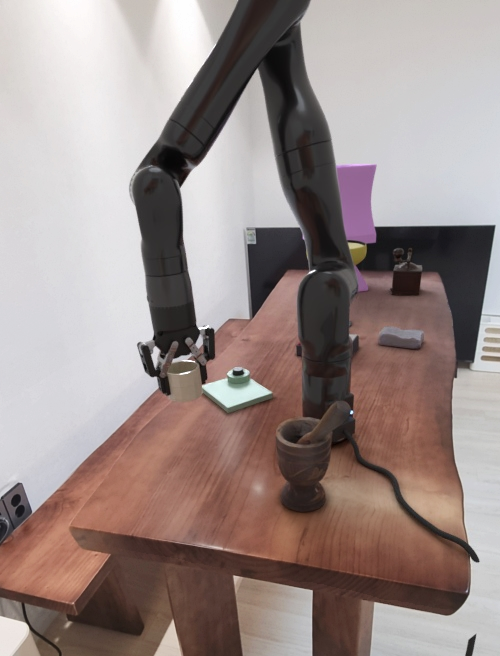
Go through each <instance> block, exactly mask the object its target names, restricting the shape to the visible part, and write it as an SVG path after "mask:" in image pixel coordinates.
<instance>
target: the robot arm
mask: <svg viewBox="0 0 500 656" xmlns="http://www.w3.org/2000/svg"><path fill="white" fill-rule="evenodd" d="M311 1H312V0H237V2H236V4H235V7H234V9H233V11H232V13H231V15H230V17H229V19H228V21H227V22H226V24H225V26H224V28H223V30H222V32H221V33H220V36H219V38H218V39H217V41H216V43H215V45H213V48H212V49H211V51H210V53H209V54H208V56H207V57H206V59H205V60H204V62H203V64H201V66H200V68H199V70H198V71H197V73H196V74H195V76H194V77H193V79H192V80H191V82H190V83H189V85H188V86H187V88H186V90H185V91H184V93H183V94H182V96H181V98H180V99H179V101H178V102H177V104H176V106H175V107H174V109H173V111H172V112H171V114H170V116H169V117H168V119H167V120H166V122H165V124H164V125H163V128H162V129H161V130H162V131H161V133H160V134H159V137H158V138H157V139H156V141H155V142H154V144H153V145H152V146H151V147H150V149H149V150H148V152H147V153H146V155H145V156H144V157H143V159H142V160H141V162H140V163H139V164H138V166H137V167H136V169H135V171H134V172H133V174H132V176H131V178H130V180H129V184H128V194H129V198H130V200H131V202H132V204H133V205H134V207H135V211H136V217H137V223H138V228H139V232H140V238H141V239H140V254H141V261H142V266H143V272H144V278H145V293H146V301H147V303H148V308H149V314H150V315H149V316H150V319H151V327H152V331H153V336H152V339H150V340H148V341H145V342H143V341H138V342H137V344H136V347H137V351H138V354H139V357H140V360H141V364H142V368H143V370H144V373H146V374H147V375H148V376H149V377H150V378H156V380H157V387H158V390H159V391H160V393H162V394H163V395H165V396H166V397H168V396H169V395H171V393H170V387H169V381H168V377H167V376H166V375H167V372H168V369H169V366H171V364H172V363H173V360H176V359H178V358H181V357H183V356H186V357H187V356H189V355H190V356H191V357H192V358H193V360H194V361H195V362H197V363H199V367H200V374H201V382H202V385H205V384H207V381H208V378H209V376H208V370H207V364H208V362H210V361H214V360H215V359H216V332H215V329H214V328H213V327H211V326H210V325H207V324H204V325H202V326H201V327H198V325H197V315H196V308H195V307H196V306H195V299H194V292H193V285H192V280H191V277H190V273H189V265H188V259H187V251H186V246H185V239H184V213H183V212H184V211H183V210H184V209H183V198H182V191H181V188H182V187H183V186H184V184H185V182H186V181H187V179H188V177H189V176H190V173H191V172H192V171H193V170H194V169H196V168H197V167H198V166H199V165H200V164H202V162H203V161H204V159H205V158H206V157H207V155H208V154H209V152H210V151H211V149H212V147H213V146H214V144H215V143H216V141H217V139H218V138H219V136H220V135H221V133H222V131H223V130H224V128H225V126H226V124H227V123H228V121H229V120H230V118H231V116H232V114H233V113H234V110H235V109H236V106H237V105H238V103H239V101H240V100H241V97H242V95H243V93H244V92H245V90H246V88H247V86H248V85H249V83H250V81H251V80H252V78H253V77H254V74H255V73H256V71H258V75H259V79H260V83H261V87H262V91H263V98H264V105H265V111H266V116H267V118H266V119H267V124H268V130H269V135H270V139H271V144H272V152H273V156H274V161H275V162H274V163H275V167H276V170H277V175H278V180H279V184H280V188H281V190H282V193H283V196H284V198H285V201H286V203H287V205H288V207H289V209H290V211H291V213H292V215H293V217H294V219H295V220H296V222H297V225H298V226H299V228H300V231H301V234H302V238H303V237H304V239H303V240H304V245H305V250H306V249H307V255H308V259H307V261H308V271H309V272H307V274H305V275H304V276H303V278H302V279H301V280H300V282H299V284H298V288H297V290H296V291H297V293H296V321H297V322H296V323H297V336H298V342H300V343H301V346H302V356H301V398H302V399H301V403H302V404H301V405H302V406H301V407H302V408H301V409H302V411H301V412H302V416H301V417H310V418H315V419H319V420H321V419H322V417H323V416H324V414H325V413H326V412H327V410H328V409H329V408H330V406H331V405H332V404H334V403H335V402H337V401H345V402H347V403H348V404H349V406H350V407H351V413H350V415H349V417H348V418H347V419H346V420H345V421H344V422H343V423H342V424H341V425H339V426H338V427H337V428H335V429H334V430H333V431H332V442H331V447H332V446H334V445H336V444H339V443H341V442H344V441H346V440H348V441H349V443H350V444H351V447H352V448H353V453H354V457H355V458H356V460H357V461H358V462H359V463H360V464H361V465H362V466H364V467H366V468H368V469H370V470H372V471H376V472H379V473H381V474H383V475H385V476H386V477H387V479H389V480H390V481H391V483H392V485H393V491H394V495H395V497H396V499H397V501H398V503H399V504H400V506H401V507H402V508H403V509H404V510H405V511H406V512H407V513H408V514H409V515H410V516H411V517H412V518H413V519H414V520H416V521H417V522H418V523H419V524H421V525H422V526H423V527H425V528H426V529H428V530H429V531H430V532H432V533H433V534H435V535H436V536H438V537H440V538H443V539H445V540H447V541H450V542H451V543H455V544H457V545H458V546H460V547H461V548H462V549H463V550H464V551H466V553H467V554H468V556H469V557H470V559H471V560H472V561H473V562H474V563H478V564H479V563H480V562H481V561H480V558H479V556H478V554H477V552H476V551H475V550H474V548H472V546H471V545H470V544H469V543H468V542H467V541H465V540H464V539H462V538H460V537H458V536H456V535H453V534H451V533H449V532H446V531H444V530H442V529H440V528H438V527H437V526H436V525H434V524H432V522H430V521H429V520H427V519H425V518H424V517H423V516H422V515H421V514H419V513H418V512H417V511H416V510H415V509H414V508H413V507H411V506H410V505H409V504H408V502H407V501H406V500H405V498H404V497H403V495H402V492H401V489H400V488H401V487H400V485H399V482H398V479H397V477H396V476H395V475H394V474H393V473H392V472H391V471H390V470H388V469H387V468H384V467H382V466H379V465H376V464H374V463H373V464H372V463H370V462H368V461H367V460H366V459H364V458H363V457H362V456H361V453H360V448H359V446H358V443H357V441H356V440H355V438H354V437H353V435H355V433H356V418H354V403H355V395H354V393H352V392H351V387H352V386H351V385H352V367H353V366H352V363H353V356H352V348H353V342H352V339H351V337H350V336H349V334H350V326H349V321H350V311H351V309H350V308H351V306H352V305H353V304H354V302H355V301H356V299H357V296H358V293H359V292H358V287H359V284H358V278H357V274H356V270H355V266H354V263H353V259H352V256H351V252H350V249H349V245H348V241H347V237H346V233H345V228H344V222H343V213H342V204H341V196H340V190H339V183H338V176H337V168H336V165H337V161H336V156H335V155H336V154H335V149H334V145H333V138H332V137H333V136H332V132H331V129H330V125H329V122H328V120H327V118H326V115H325V111H324V110H323V108H322V106H321V104H320V101H319V100H318V97H317V95H316V93H315V91H314V88H313V86H312V84H311V81H310V78H309V75H308V70H307V67H306V62H305V53H304V47H303V46H304V45H303V38H302V25H301V23H302V20H303V19H304V18H305V16H306V14H307V12H308V10H309V8H310V6H311ZM307 255H306V256H307ZM199 338H201V339H202V351H201V350H200V348H199V347H198V346H197V342H198V340H199ZM154 348H157V349H158V350H159V351H158V354H157V358H156V359H157V362H156V365H155V364H154V360H153V356H152V355H153V354H154ZM476 639H477V633H475V634H474V635H472V636H471V637H470V638H469V639H468V640H467V645H466V650H465V654H464V656H473V653H474V649H475V645H476Z"/></svg>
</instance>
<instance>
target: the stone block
mask: <svg viewBox="0 0 500 656" xmlns="http://www.w3.org/2000/svg"><path fill="white" fill-rule="evenodd" d="M424 339H425V332H424V331H423V330H421V329H413V328H412V329H411V328H410V329H409V328H408V329H402V328H398V327H395V326H389V325H388V326H387V325H386V326H385V327H383V328H382V329H381V330H380V331H379V334H378V344H379V345H380V346H385V347H393V348H394V347H395V348H403V349H409V350H419V349H420V348H421V347H422V344H423V342H424Z"/></svg>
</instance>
